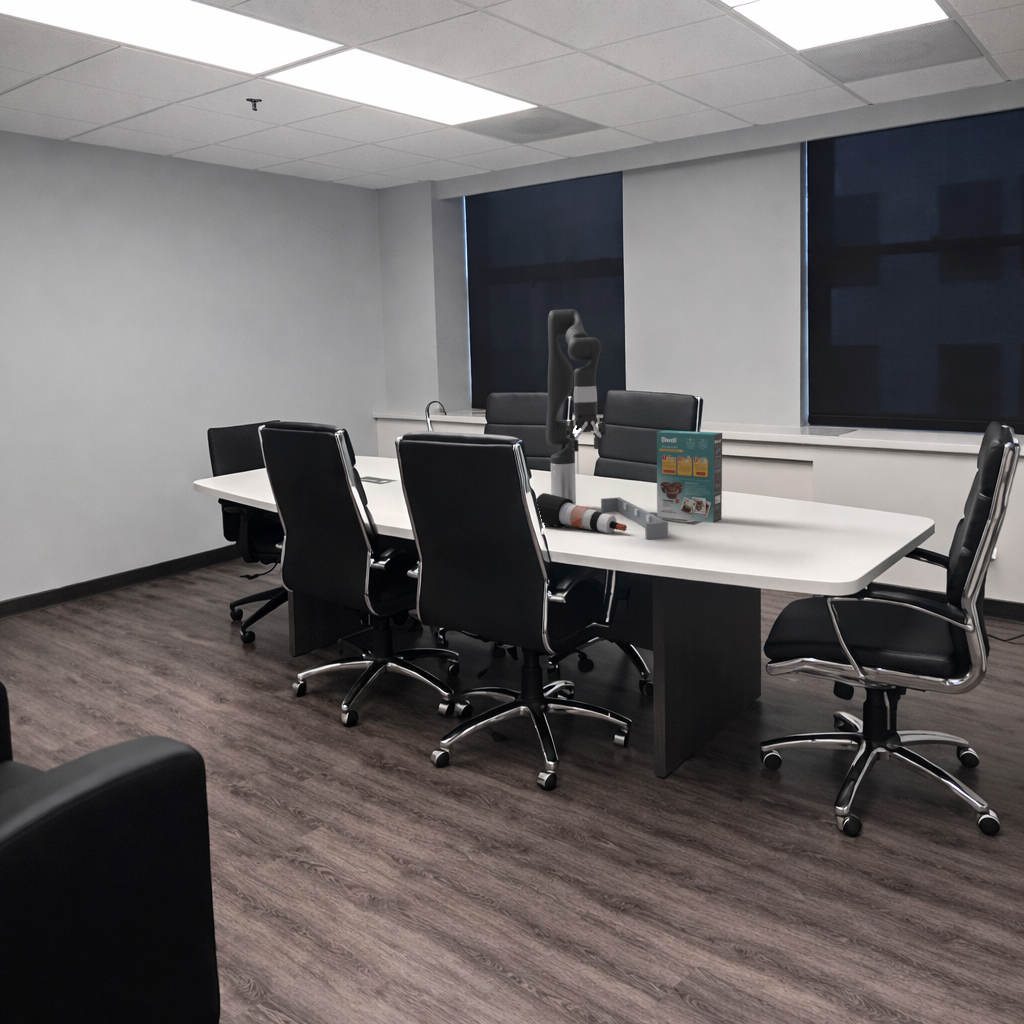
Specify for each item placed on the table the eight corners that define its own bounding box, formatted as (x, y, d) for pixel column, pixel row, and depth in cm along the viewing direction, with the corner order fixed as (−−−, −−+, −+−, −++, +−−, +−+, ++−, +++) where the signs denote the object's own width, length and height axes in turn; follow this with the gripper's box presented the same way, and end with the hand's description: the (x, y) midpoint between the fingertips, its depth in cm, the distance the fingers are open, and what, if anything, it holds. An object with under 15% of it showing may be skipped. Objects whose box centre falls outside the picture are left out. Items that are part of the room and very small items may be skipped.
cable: (619, 549, 298) (613, 525, 293) (537, 527, 319) (530, 504, 314) (635, 530, 304) (630, 506, 298) (553, 510, 325) (547, 487, 319)
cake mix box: (721, 519, 317) (722, 432, 312) (713, 522, 313) (713, 434, 307) (665, 513, 331) (665, 430, 326) (657, 516, 327) (656, 432, 321)
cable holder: (601, 512, 338) (601, 498, 337) (619, 510, 340) (619, 497, 339) (646, 539, 291) (646, 523, 290) (667, 537, 292) (667, 522, 291)
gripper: (596, 398, 305) (597, 447, 308) (560, 401, 298) (561, 451, 301) (610, 399, 299) (610, 449, 302) (574, 402, 291) (575, 453, 294)
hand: (586, 450), depth 301 cm, fingers open, 8 cm apart
